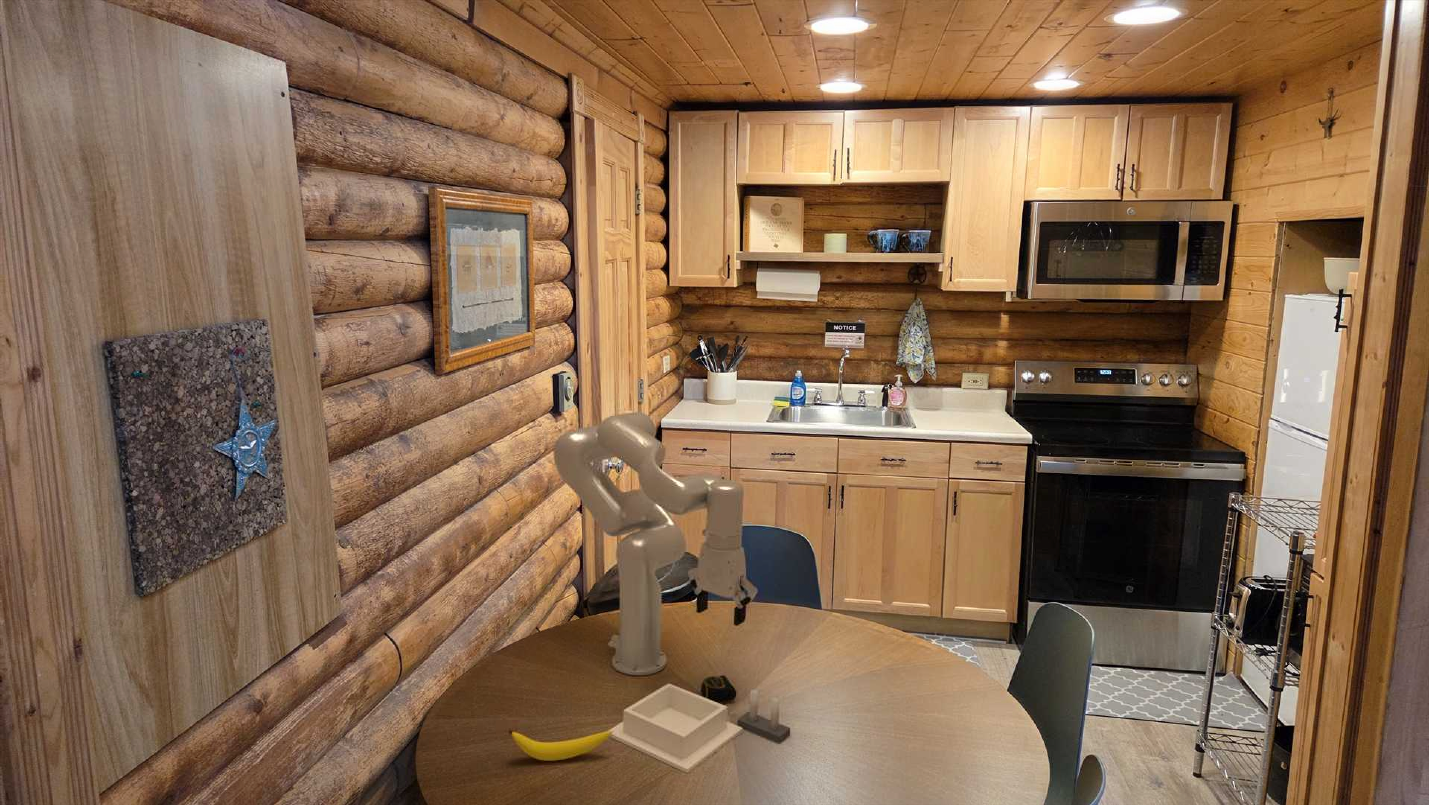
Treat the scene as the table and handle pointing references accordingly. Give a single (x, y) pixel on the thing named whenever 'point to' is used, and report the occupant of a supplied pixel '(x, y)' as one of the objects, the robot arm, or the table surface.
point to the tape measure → (718, 689)
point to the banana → (559, 746)
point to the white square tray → (676, 727)
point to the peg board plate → (764, 721)
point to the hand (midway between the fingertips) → (720, 617)
